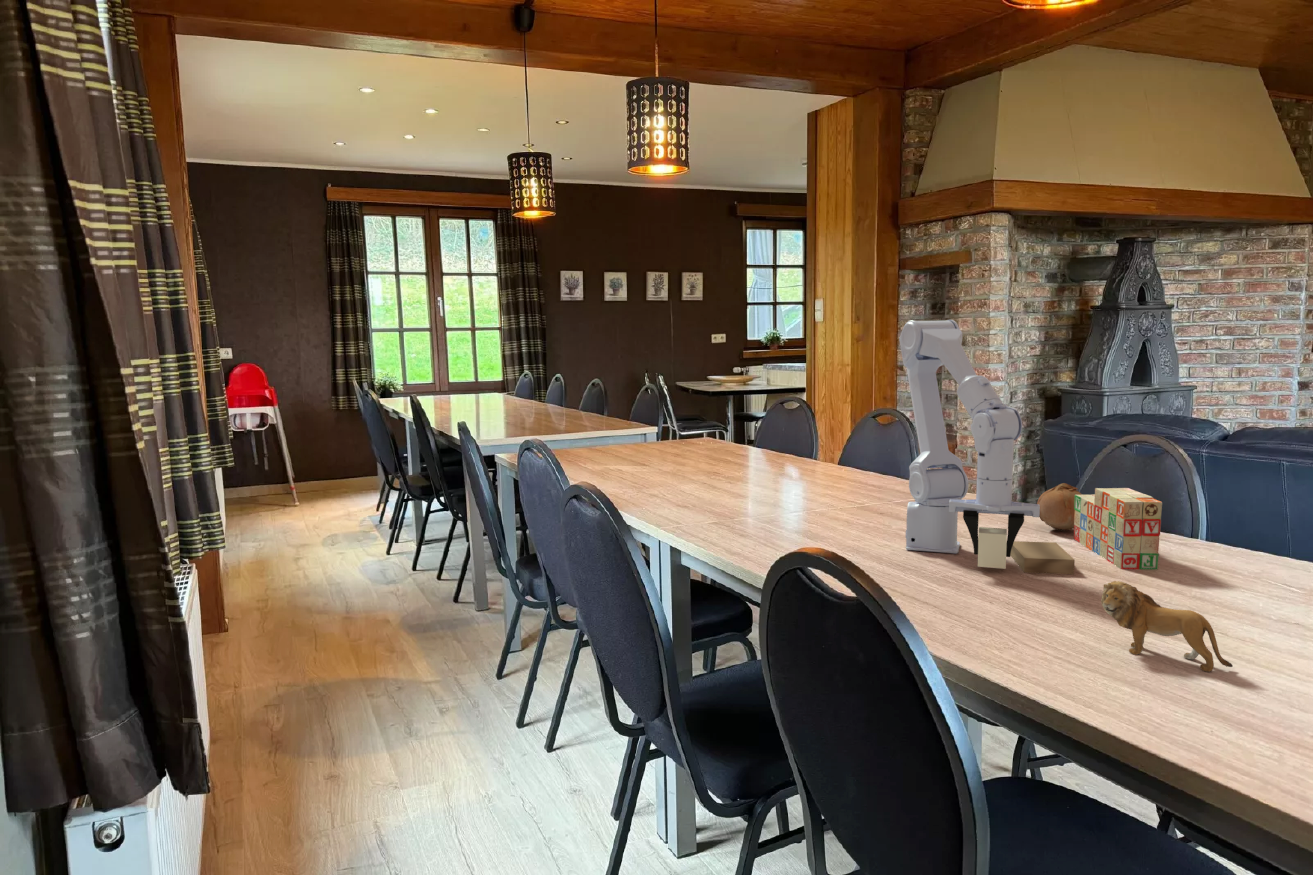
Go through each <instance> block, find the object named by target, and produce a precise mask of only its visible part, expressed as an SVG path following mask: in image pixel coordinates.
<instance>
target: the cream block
mask: <svg viewBox="0 0 1313 875" xmlns="http://www.w3.org/2000/svg"><path fill="white" fill-rule="evenodd" d="M1007 536H1008V528H1000V527H999V528H998V527H985V526H984V527H983V526H978V555H977V567H979V568H992V569H1002V570H1003V569H1004V570H1006V569H1007V557H1006V546H1007Z"/></svg>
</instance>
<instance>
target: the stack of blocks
mask: <svg viewBox="0 0 1313 875" xmlns="http://www.w3.org/2000/svg"><path fill="white" fill-rule="evenodd" d="M1162 507H1163V502H1162V501H1160V500H1157V499H1156V498H1154V497H1153V496H1151V495H1148V494H1145V493H1142V492H1139V491H1137V490H1134V489H1131V488H1129V487H1118V488H1117V487H1112V488H1110V487H1109V488H1108V487H1107V488H1105V487H1104V488H1102V487H1101V488H1100V487H1099V488H1098V487H1095V488H1094V494H1082V495H1075V500H1074V510H1075V516H1074V529H1073V540H1074V539H1075V540H1074V541H1076V542H1077V543H1078V544H1080V543H1081V544H1080V545H1082V544H1083V545H1084V547H1085V548H1087V547H1088V548H1089V549H1088V548H1087V549H1088V550H1090V551H1091V550H1092V552H1093V551H1094V553H1095V552H1096V553H1097V554H1096V553H1095V554H1096V555H1098V556H1100V557H1101V556H1102V557H1101V558H1103V557H1104V558H1105V559H1104V558H1103V559H1104V560H1106V561H1108V562H1109V563H1110V562H1111V563H1110V564H1112V565H1113V566H1115V565H1116V567H1117V568H1118V569H1120V570H1158V568H1159V567H1158V566H1159V558H1160V557H1159V555H1160V554H1159V548H1160V536H1161V526H1162V510H1163V508H1162ZM1083 545H1082V546H1083Z"/></svg>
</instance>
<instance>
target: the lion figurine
mask: <svg viewBox="0 0 1313 875" xmlns="http://www.w3.org/2000/svg"><path fill="white" fill-rule="evenodd" d="M1100 603H1101V606H1102V607H1103V608H1102V609H1103V611H1105V612H1106V614H1107V615H1109V616H1110V617H1112V619H1114V620H1116V622H1117V623H1118V625H1119V627H1122V628H1124V629H1129V630H1131V633H1132V637H1133V639H1132V640H1133V642H1131V643H1130V647H1131V648H1129V649H1128V652H1129V653H1130V654H1131V655H1135V656H1136V655H1137V656H1138V655H1140V654H1142V652H1143V651H1144V643H1145V636H1146V634H1147V633H1148V632H1149V633H1152V634H1155V635H1159V636H1163V637H1174V636H1178V635H1182V636H1183V639H1184V640H1185V641H1186V643H1187V644H1188V646H1190V647H1191V648H1192V651H1191V652H1186V653H1185V652H1184V654H1183V658H1184V659H1187V660H1195V659H1196V658H1198V656H1199V655H1200V656H1201V657H1202V658H1203V659H1204V661H1205V663H1201V664H1200V665H1199V668H1200V670H1201V671H1203V672H1207V673H1209V672H1212V671H1213V669H1214V668H1215V665H1214V664H1215V663H1214V657H1213V653H1212V652H1211V651H1210V650H1209V649H1208V647H1207V646H1206V643H1205V642H1204V635H1205V633H1206V632H1207V635H1208V638H1209V641H1210V644H1211V647H1212V649H1213V652H1214V655H1215V657H1216V659H1217V660H1218V662H1219V663H1220V664H1221V665H1222V666H1224V667H1228V668H1232V667H1233V663H1231V662H1230V661H1228V660H1226V659H1225V658H1223V657H1222V655H1221V653H1220V650H1219V646H1218V642H1217V639H1216V634H1215V631H1214V629H1213V628H1212V625H1211V624H1210V622H1209V620H1208V619H1206V618H1205V617H1204V615H1202V614H1201V613H1198V612H1197V611H1194V610H1191V609H1190V610H1189V609H1174V608H1168V607H1163V606H1161V605H1160V604H1158V603H1157V602H1156V601H1154V599H1153V598H1152V597H1151V596H1150V595H1149V594H1147V593H1144V592H1143V591H1140V590H1138V588H1137V587H1136V586H1134V585H1131V584H1129V583H1127V582H1124V581H1120V580H1117V581H1116V580H1114V581H1111V582H1108V583H1106V584H1103V591H1102V595H1101V600H1100Z"/></svg>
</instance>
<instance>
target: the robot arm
mask: <svg viewBox="0 0 1313 875" xmlns="http://www.w3.org/2000/svg"><path fill="white" fill-rule="evenodd" d="M898 339H899V347H900V351H901V352H900V353H901V357H902V358H901V359H902V365H903V366H904V367H905V368H906V373H907V378H908V386H909V391H910V397H911V398H910V399H911V402H912V410H913V417H914V423H915V429H916V430H915V431H916V435H917V436H916V437H917V442H918V448H919V453H920V454H919V455H918V456H917V457H916V458H915V459H914V460H913V461H912V462H911V464H910V465H909V466H908V467H909V468H908V469H909V479H908V489H909V492H910V496H912V499H914V501H908V503H907V507H906V529H905V540H906V541H905V543H906V544H905V546H906V547H905V550H908V551H918V552H919V551H920V552H932V553H933V552H934V553H944V554H959V550H960V545H961V543H960V541H958V516H959V514H958V513H962V514H963V515H962V519H963V521H964V523H965V525H966V527H967V529H968V532H969V536H970V538H971V542H972V547H973V555H977V556H978V538H979V514H992V515H1006V516H1007V546H1006V558H1010V557H1011V556H1010V554H1011V549H1012V546H1013V543H1014V541H1015V540H1016V537H1017V536H1018V533H1019V532H1020V529H1021V528H1022V526H1023V524H1024V522H1025V516H1026V517H1032V518H1040V517H1039V515H1040V505H1039V504H1037V503H1028V502H1020V501H1013V474H1014V473H1013V472H1014V471H1013V470H1014V469H1013V468H1014V449H1015V448H1014V445H1015V441H1017V439H1019V437H1020V436H1021V434H1022V432H1023V421H1022V418H1021V417H1022V416H1021V415H1020V413H1019V410H1018V409H1017V408H1015V407H1011V406H1009V405H1008V404H1007V403H1004V402H1003V401H1002V400H1001V398H1000V397H999V395H998V393H997V392H996V390H995V389H994V387H993V385H992V384H991V382H990V380H989V379H988V378H987V377H986V376H983V375H977V373H976V371H975V369H974V367H973V365H972V363H971V362H970V359H969V357H968V354H966V351H965V349H964V347H963V345H962V343H963V331H962V329H960V327H959V325H958V322H956V321H955V320H954V319H947V320H912V319H911V320H908V321H907V322H906V323H905V324H904V326H903V327H902V330H901V332H900V336H899V338H898ZM942 366H944V367H945V368H946V369H947V371H948V372H949V374H950V375H951V377H952V378H953V379H954V380H955V381H956V383H957V384H958V386H957V389H956V395H957V397H958V398H959V400H960V402H961V404H962V405H963V407H964V408H965V411H966V412H967V413H968V415H969V417H970V418H971V420H972V421H971V422H972V423H970V432H971V434H972V437H973V441H974V448H975V452H977V460H976V461H977V462H976V464H977V465H976V496H975V499H974V498H973V499H964V497H965V496H967V493H968V490H969V486H970V484H969V482H970V481H969V479H968V476H967V474H966V472H965V470H964V467H963V462H962V459H961V458H959V456H957V455H955V454H954V453H952V451H950V450H949V445H948V438H947V432H946V426H945V420H944V414H943V409H942V403H941V397H940V389H939V385H938V379H937V371H938V369H939V368H940V367H942Z"/></svg>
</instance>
